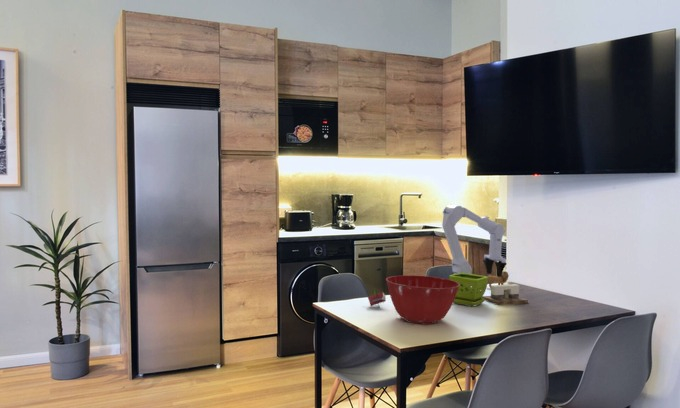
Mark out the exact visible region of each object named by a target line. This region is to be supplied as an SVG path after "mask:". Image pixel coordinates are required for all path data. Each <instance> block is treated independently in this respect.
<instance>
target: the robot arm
mask: <svg viewBox="0 0 680 408" xmlns="http://www.w3.org/2000/svg"><path fill="white" fill-rule="evenodd" d="M442 215H443V216H442V223H441V225H442V228H443V229H442V230H443V231H444V235H445V239H446V241H447V244H448V247H449V250H450V254H451V257H452V260H451V261H450V262H451V271H452V273H453V274H457V273H467V274H473V273H472V272H473V269H472V266H471V265H470V264H469V261H468V259H467V258H466V257H465V255H464V253H463V249H462V246H461V243H460V239H459V237H458V234H457V230H456V227H455V226H456V225H457V224H458V222H459V221H461V220H462V219H463V218H466V219H468V220H471V221H472V222H475V223H476V224H477V226H478V227H479V228H481V229H483V230H484V231H486V232H488V234H489V249H488V254H484V256H483V258H484V259H483V260H482V261H483V264H484V266H485V270H486V274H487V275H492V272H493V265H494V264H495V267H496V276H498V277H500V276H501V275H502V272H503V271H504V270H505V267H506V266H507V258H505V257H503V256H502V245H503V244H502V243H503V241H502V240H503V236H504V234H505V232H506V229H505V227H504V226H503V224H499V223H497V221H495V220H491V219H490V217H488V216H480V215H477V214H476V213H474V212H473V211H471V210H470V209H468V208H466V207H463V206H461V205H453V204H448V205H446V206H445V208H443V210H442Z"/></svg>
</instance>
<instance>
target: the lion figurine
mask: <svg viewBox="0 0 680 408" xmlns="http://www.w3.org/2000/svg"><path fill="white" fill-rule="evenodd" d="M509 276H510V274H509V272H508V271H506V270H503V272H502V275H501V276H500V277H498V276H497V275H496V276H495V275H492V274H489V275H487V276H486V277H488V283H487V284H489V285H488V286H489V288H490V289H491V285H493V283H494V284H497V285H505V284H506V283H507V282H508V279H509Z"/></svg>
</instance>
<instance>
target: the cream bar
mask: <svg viewBox="0 0 680 408" xmlns="http://www.w3.org/2000/svg"><path fill="white" fill-rule="evenodd" d="M504 290H507V291H509V293H508V294H519V295H520V285H519V284H516V283H512V284H511V283H509V284H503V285H501V284H500V285H498V284H491V288H490V295H491V294H493V295H504Z"/></svg>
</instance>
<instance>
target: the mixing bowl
mask: <svg viewBox="0 0 680 408" xmlns="http://www.w3.org/2000/svg"><path fill="white" fill-rule="evenodd" d="M385 281H386V283H387V288H388V293H389V296H390V297H389V298H390V299H391V301H392V304H393V307H394V309H395V312H396V313H397V314H398V315H399V317H401V318H403V320H404V321H406V322H410V323H413V324H420V325H421V324H422V325H426V324H427V325H429V324H437V323H438V322H440V321H441V320H443V319H444V318H445V317H446V316H447V314H448V313H449V312H450V310H451V308H452V305H453V304H454V303H453V302H454V299H455V297H456V294H457V290H458V287H459V286H460V284H459V283H458V282H456V281H453V280H449V278H442V277H437V276H427V275H415V274H414V275H413V274H412V275H408V274H407V275H392V276H388V277H386V278H385Z"/></svg>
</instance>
